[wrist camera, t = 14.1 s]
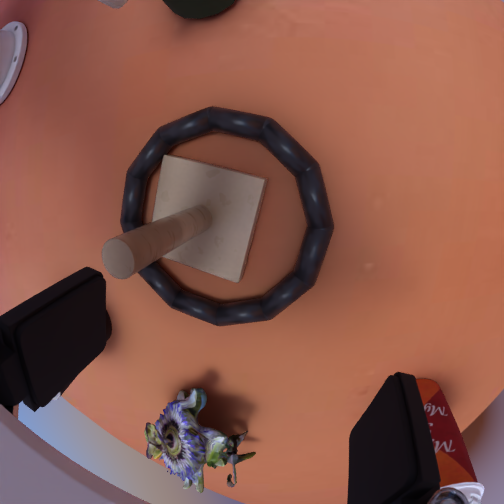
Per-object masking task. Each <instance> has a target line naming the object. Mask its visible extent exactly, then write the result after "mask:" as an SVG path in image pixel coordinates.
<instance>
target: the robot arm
mask: <svg viewBox="0 0 504 504" xmlns="http://www.w3.org/2000/svg"><path fill="white" fill-rule="evenodd" d="M26 46H27V30H26V27H25V25H24V24H23V23H21V22H17V21H13V22H11V23H9V24H7V25H6V26H4V27H3V28H2V29H1V30H0V104H1V103H2V102H3V101H4V100H5V98H6V97H7V96H8V94H9V93H10V91H11V89H12V87H13V86H14V84H15V81H16V79H17V77H18V75H19V72H20V69H21V67H22V63H23V60H24V56H25V52H26ZM105 346H106V281H105V279H104V278H103V274H102V273H101V272H99V271H96V270H94V269H92V268H90V267H85V268H83V269H81V270H79V271H77V272H75V273H74V274H72V275H70V276H68V277H66V278H65V279H63V280H61V281H59V282H57V283H56V284H54V285H52V286H50V287H49V288H47V289H45V290H43V291H42V292H40V293H38V294H36V295H35V296H33V297H31V298H30V299H28V300H26V301H24V302H23V303H21V304H19V305H18V306H16V307H14V308H13V309H11V310H9V311H8V312H6V313H5V314H3V315H1V316H0V504H150V503H148V502H146V501H144V500H141V499H139V498H137V497H135V496H133V495H131V494H129V493H127V492H125V491H123V490H121V489H119V488H118V487H116V486H114V485H112V484H110V483H109V482H107V481H105V480H103V479H101V478H100V477H98V476H96V475H95V474H93V473H91V472H90V471H88V470H86V469H85V468H83V467H82V466H80V465H79V464H77V463H75V462H74V461H72V460H71V459H69V458H68V457H66V456H65V455H63V454H62V453H61V452H59V451H58V450H56V449H55V448H54V447H52V446H51V445H49V444H48V443H47V442H45V441H44V440H43V439H41V438H40V437H39V436H38V435H36V434H35V433H34V432H32V431H31V430H30V429H29V428H28V427H26V426H25V425H24V424H23V423H21V422H20V421H19V420H18V407H19V403H20V402H21V401H22V400H23V402H24V404H25V405H27V406H28V407H29V408H30V409H32V410H33V411H34V412H35V411H36V410H37V409H38V408H39V407H44V406H46V405H47V404H48V403H49V402H50V401H51V400H52V399H53V398H54V397H55V396H56V395H57V394H58V393H59V392H60V391H61V390H62V389H63V388H64V387H66V386H67V385H68V384H69V383H70V382H71V381H72V380H73V379H74V378H75V377H76V376H77V375H78V374H79V373H80V372H81V371H82V370H83V369H84V368H85V367H86V366H87V365H88V364H90V363H91V362H92V361H93V360H94V359H95V358H96V357H97V356H98V355H99V354H100V353H101V352H102V351H103V350H104V348H105ZM440 482H441V478H440V473H439V468H438V463H437V458H436V454H435V449H434V445H433V441H432V436H431V432H430V428H429V424H428V421H427V417H426V413H425V409H424V406H423V402H422V399H421V395H420V392H419V388H418V385H417V382H416V378H415V376H413V375H410V374H405V373H401V372H396V373H395V374H394V375H390V376H389V377H388V378H387V379H386V381H385V383H384V384H383V386H382V387H381V389H380V390H379V392H378V393H377V395H376V396H375V398H374V399H373V401H372V402H371V404H370V405H369V407H368V408H367V410H366V411H365V412H364V414H363V415H362V417H361V418H360V419H359V421H358V422H357V423H356V425H355V426H354V428H353V429H352V431H351V433H350V437H349V480H348V501H347V504H469V501H468V499H467V498H466V496H465V495H464V494H463V493H462V492H461V491H459V490H457V489H455V488H451V487H445V488H441V489H440V484H439V483H440Z"/></svg>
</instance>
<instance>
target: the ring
mask: <svg viewBox="0 0 504 504" xmlns="http://www.w3.org/2000/svg"><path fill="white" fill-rule="evenodd" d="M212 131H216V132H221V133H225V134H230V135H235V136H239V137H244V138H248V139H252V140H256V141H259V142H260V143H261V144H262V145H263V146H265V147H266V148H267V149H268V150H269V151H270V152H271V153H272V154H273V155H274V156H275V157H276V158H277V159H278V160H279V161H280V162H281V163H282V164H283V165H284V166H285V167H286V168H287V169H288V170H289V171H290V172H291V173H292V174H293V175H294V176H295V179H296V182H297V186H298V190H299V194H300V198H301V202H302V206H303V210H304V214H305V218H306V222H307V229H306V233H305V236H304V239H303V242H302V246H301V249H300V252H299V255H298V258H297V261H296V265H295V268H294V271H293V272H291V273H290V274H289V275H288V276H287V277H286V278H284V279H283V280H282V281H281V282H280V283H278V284H277V285H276V286H275V287H274V288H273V289H271V290H270V291H269V292H268V293H267V294H265V295H264V296H263V297H262V298H258V299H252V300H245V301H239V302H232V303H225V304H219V303H217V302H214V301H211V300H208V299H206V298H203V297H200V296H198V295H195V294H192V293H190V292H187V291H184V290H182V289H181V288H180V287H179V286H178V285H177V284H176V282H175V281H174V280H173V279H172V278H171V277H170V276H169V275H168V274H167V273H166V272H165V271H164V270H163V269H162V268H161V267H160V265H159V264H158V263H157V262H156V261H154V262H153V263H151V264H150V265H148V266H146V267H145V268H143V269H142V270H140V271H138V273H139V274H140V276H141V277H142V278H143V279H144V280H145V281H146V282H147V283H148V284H149V285H150V286H151V287H152V289H153V290H154V291H155V292H156V293H157V294H158V295H159V296H160V297H161V298H162V299H163V300H164V301H165V302H166V303H167V304H168V305H169V306H170V307H171V308H173V309H175V310H177V311H180V312H182V313H185V314H187V315H190V316H193V317H195V318H198V319H200V320H203V321H206V322H208V323H211V324H213V325H216V326H227V325H235V324H244V323H252V322H259V321H267V320H271V319H273V318H274V317H275V316H277V315H278V314H279V313H280V312H282V311H283V310H284V309H286V308H287V307H288V306H289V305H291V304H292V303H293V302H294V301H296V300H297V299H298V298H299V297H301V296H302V295H303V294H304V293H306V292H307V291H308V290H309V289H311V288H312V287H313V286H314V284H315V282H316V280H317V277H318V274H319V271H320V269H321V266H322V263H323V260H324V257H325V254H326V251H327V248H328V245H329V242H330V239H331V236H332V233H333V229H334V224H333V219H332V215H331V210H330V206H329V202H328V198H327V193H326V189H325V185H324V181H323V177H322V173H321V170H320V166H319V164H318V162H317V161H316V160H315V159H314V158H313V157H312V156H311V155H310V154H309V153H308V152H307V151H306V150H305V149H304V148H303V147H302V146H301V145H300V144H299V143H298V142H297V141H296V140H295V139H294V138H293V137H292V136H291V135H290V134H289V133H287V132H286V131H285V130H284V129H283V128H282V127H281V126H280V125H279V124H278V123H277V122H276V121H275V120H273V119H272V118H269V117H265V116H261V115H256V114H251V113H247V112H242V111H237V110H231V109H226V108H220V107H214V106H212V107H208V108H205V109H202V110H200V111H197V112H195V113H192V114H189V115H187V116H185V117H182V118H180V119H177V120H175V121H172V122H170V123H168V124H165V125H163V126H161V127H159V128H158V129H157V130H156V132H155V133H154V134H153V136H152V137H151V138H150V140H149V141H148V142H147V144H146V145H145V146H144V148H143V149H142V150H141V152H140V153H139V154H138V156H137V157H136V159H135V160H134V161H133V163H132V164H131V166H130V167H129V169H128V170H127V174H126V181H125V188H124V195H123V202H122V210H121V219H120V223H121V227H122V230H123V233H126V232H128V231H131V230H133V229H136V228H138V227H141V226H143V224H142V221H141V218H142V211H143V204H144V197H145V191H146V185H147V179H148V177H149V176H150V175H151V173H152V172H153V171H154V169H155V168H156V167H157V166H158V164H159V163H160V162H161V160H162V159H163V156H164V155H166V154H167V153H168V151H169V150H170V149H171V148H172V146H174V145H177V144H179V143H182V142H184V141H187V140H190V139H192V138H195V137H198V136H200V135H203V134H206V133H209V132H212Z"/></svg>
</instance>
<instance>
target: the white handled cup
mask: <svg viewBox="0 0 504 504" xmlns="http://www.w3.org/2000/svg"><path fill="white" fill-rule="evenodd" d="M98 1H100V2H102V3H104V4H106V5H108V6H110V7H112V8H118V9H119V8H121V7H122V6H123V5H124V4H125V3H126V2H127V1H128V0H98ZM163 1H164V3H165V4H166V5H167V6H168V7H169V8H170V9H171V10H172V11H173V12H174V13H175V14H177V15H179V16H181V17H183V18H194V19H201V18H204V17H208V16H211V15H215V14H218V13H220V12H221V11H223V10H224V9H226V8H227V7H229V6H230V5H232V4H233V3H234V1H235V0H163Z"/></svg>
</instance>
